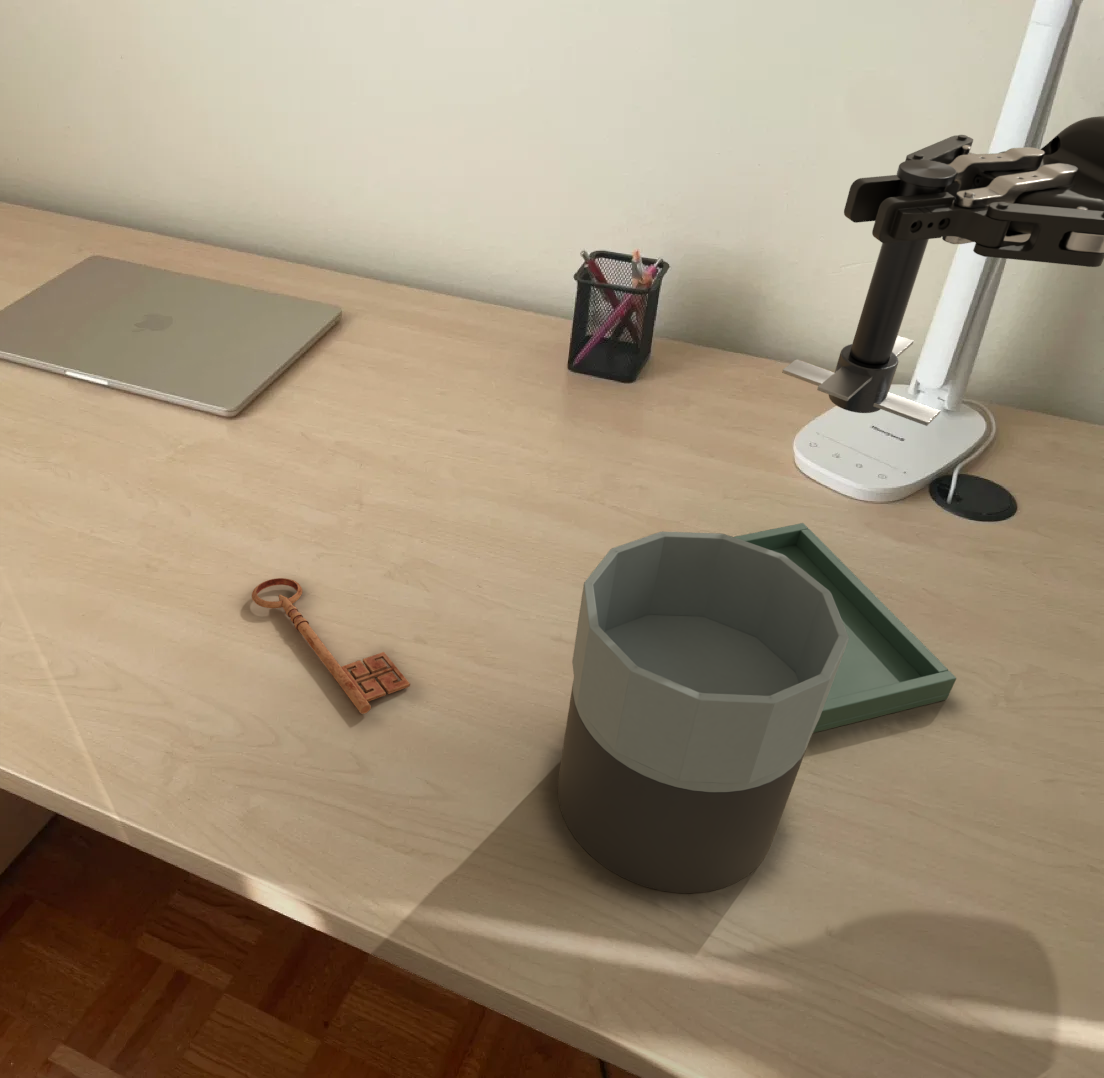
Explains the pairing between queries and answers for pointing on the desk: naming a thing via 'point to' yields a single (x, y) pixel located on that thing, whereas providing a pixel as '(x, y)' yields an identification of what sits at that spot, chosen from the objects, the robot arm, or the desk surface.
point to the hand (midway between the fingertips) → (866, 211)
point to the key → (329, 661)
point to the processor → (692, 705)
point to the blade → (882, 318)
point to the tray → (862, 639)
